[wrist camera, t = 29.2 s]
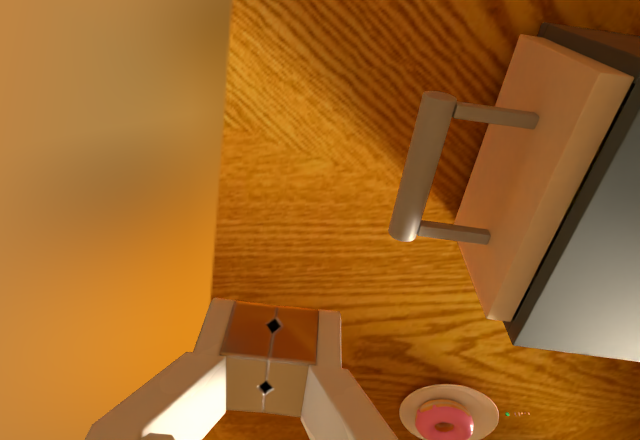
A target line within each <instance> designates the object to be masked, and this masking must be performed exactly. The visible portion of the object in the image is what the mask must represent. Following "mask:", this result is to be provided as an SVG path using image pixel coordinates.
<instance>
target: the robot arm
mask: <svg viewBox="0 0 640 440" xmlns="http://www.w3.org/2000/svg"><path fill="white" fill-rule="evenodd" d="M226 410H235V411H249V412H262V413H270V414H278V415H286V416H293V417H301V419H300V420H301V422H302V424H303V426H304V428H305V430H306V432H307V434H308V437H309V439H310V440H399V439H398V438H397V437H396V435H395V434H394V432H393V431H392V430H391V428H390V427H389V426H388V424H387V423H386V421H385V420H384V419H383V417H382V416H381V414H380V413H379V412H378V410H377V409H376V407H375V406H374V405H373V403H372V402H371V400H370V399H369V398H368V396H367V395H366V393H365V392H364V391H363V389H362V388H361V387H360V385H359V384H358V382H357V381H356V380H355V378H354V377H353V375H352V374H351V373H350V371H349V370H348V369H343V368H342V356H341V314H340V312H339V311H330V310H320V309H319V311H318V309H310V308H300V307H290V306H280V305H270V304H262V303H255V302H248V301H240V300H229V299H222V298H215V297H214V298H213V300H212V301H211V303H210V306H209V309H208V311H207V314H206V317H205V320H204V323H203V325H202V328H201V332H200V334H199V337H198V340H197V342H196V346H195V348H194V351H193V352H186V353H184V354H183V355H182V356H181V357H179V358H178V359H177V360H175V361H174V362H173V363H171V364H170V365H169V366H167V367H166V368H165V369H164V370H162V371H161V372H160V373H158V374H157V375H156V376H155V377H153V378H152V379H151V380H149V381H148V382H147V383H146V384H144V385H143V386H142V387H140V388H139V389H138V390H136V391H135V392H134V393H133V394H132V395H130V396H129V397H127V398H126V399H125V400H124V401H122V402H121V403H120V404H118V405H117V406H116V407H114V408H113V409H112V410H111V411H109V412H108V413H107V414H106V415H104V416H103V417H102V418H100V419H99V420H98V421H96V422H95V423H94V424H93V425H92V426H91V429H90V430H89V432H88V434H87V436H86V438H85V440H202V439H203V438H204V437H205V435H206V434H207V433H208V432H209V431H210V430H211V429H212V427H213V426H214V425H215V424H216V423H217V422H218V421H219V419H220V418H221V417H222V416H223V415H224V414H225V413H226Z"/></svg>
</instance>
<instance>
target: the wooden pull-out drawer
mask: <svg viewBox="0 0 640 440" xmlns="http://www.w3.org/2000/svg"><path fill="white" fill-rule="evenodd" d="M633 80H634V77H633V76H630V75H628V74H626V73H623V72H621V71H619V70H617V69H614V68H612V67H610V66H607V65H605V64H603V63H600V62H598V61H596V60H594V59H591V58H589V57H587V56H584V55H582V54H580V53H578V52H575V51H573V50H571V49H568V48H566V47H564V46H561V45H559V44H557V43H555V42H552V41H550V40H548V39H545V38H543V37H536V36H529V35H522V34H521V35H520V36H519V39H518V42H517V45H516V47H515V50H514V53H513V56H512V59H511V62H510V65H509V67H508V70H507V73H506V76H505V79H504V82H503V85H502V87H501V90H500V93H499V96H498V99H497V102H496V105H495V107H494V106H487V105H480V104H473V103H466V102H459V101H457V99H456V97H454V96H452V95H450V94H448V93H444V92H440V91H425V92H424V93H423V96H422V100H421V104H420V107H419V111H418V115H417V119H416V123H415V127H414V131H413V135H412V139H411V143H410V147H409V151H408V155H407V159H406V163H405V166H404V170H403V174H402V178H401V182H400V186H399V190H398V194H397V198H396V202H395V206H394V210H393V214H392V218H391V222H390V225H389V229H388V231H389V234H390V235H391V236H392V237H393V238H395V239H397V240H399V241H404V242H409V241H413V240H414V239H415V238H416V235H417V234H418V236H424V237H432V238H439V239H446V240H454V241H457V243H458V245H459V248H460V251H461V253H462V256H463V258H464V261H465V264H466V266H467V269H468V272H469V274H470V277H471V280H472V282H473V285H474V288H475V290H476V293H477V295H478V298H479V301H480V303H481V306H482V309H483V311H484V314H485V317H486V318H487V319H493V320H501V321H508V322H510V321H511V320H512V318H513V316H514V314H515V312H516V310H517V308H518V306H519V304H520V302H521V300H522V298H523V296H524V294H525V292H526V290H527V288H528V286H529V287H530V288H531V286H532V284H533V282H534V280H535V278H536V277H537V275H538V273H539V271H540V269H541V267H542V265H543V263H544V261H545V259H546V257H547V255H548V253H549V251H550V249H551V247H552V245H553V243H554V241H555V240H556V238H557V236H558V234H559V232H560V230H561V228H562V226H563V224H564V222H565V220H566V218H564V216H565V214H566V212H567V210H568V208H569V206H570V204H571V202H572V200H573V198H574V196H575V194H576V192H577V190H578V188H579V186H580V184H581V182H582V180H583V178H584V176H585V174H586V172H587V170H588V168H589V166H590V165H591V163H592V161H593V159H594V157H595V155H596V153H597V151H598V149H599V147H600V145H601V143H602V141H603V139H604V137H605V135H606V133H607V131H609V133H608V136H609V134H610V132H611V130H612V128H613V127H614V125H615V123H616V121H617V119H618V117H619V115H620V113H621V111H622V109H623V107H624V105H625V103H626V101H627V99H628V97H629V95H630V93H631V91H632V90H633V88H634V86H635V84H634V83H632V82H633ZM452 117H453V118H455V119H462V120H469V121H476V122H484V123H489V125H488V128H487V130H486V133H485V136H484V139H483V142H482V145H481V148H480V150H479V153H478V156H477V159H476V162H475V165H474V168H473V170H472V173H471V176H470V179H469V182H468V185H467V188H466V190H465V193H464V196H463V199H462V202H461V205H460V208H459V210H458V213H457V216H456V219H455V222H454V225H453V224H445V223H438V222H431V221H423V220H421V219H422V215H423V212H424V209H425V205H426V202H427V199H428V195H429V192H430V189H431V185H432V182H433V178H434V175H435V172H436V168H437V165H438V162H439V158H440V155H441V152H442V148H443V145H444V142H445V138H446V135H447V132H448V128H449V125H450V122H451V118H452Z"/></svg>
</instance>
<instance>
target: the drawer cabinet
mask: <svg viewBox="0 0 640 440" xmlns="http://www.w3.org/2000/svg"><path fill="white" fill-rule="evenodd" d="M537 37H543V38H545V39H548V40H550V41H552V42H555V43H557V44H559V45H561V46H564V47H566V48H568V49H571V50H573V51H575V52H578V53H580V54H582V55H584V56H587V57H589V58H591V59H594V60H596V61H598V62H600V63H603V64H605V65H607V66H610V67H612V68H614V69H617V70H619V71H621V72H623V73H626V74H628V75H630V76H633V77H634V80H633V82H632V83H634V84H635V86H634V88H633V90H632V91H631V93H630V95H629V97H628V99H627V101H626V103H625V105H624V107H623V109H622V111H621V113H620V115H619V117H618V119H617V121H616V123H615V125H614V127H613V128H612V130H611V132H610V134H609V136H608V138H607V140H606V142H605V144H604V146H603V148H602V150H601V152H600V154H599V156H598V158H597V160H596V162H595V164H594V165H593V167H592V169H591V171H590V173H589V175H588V177H587V179H586V181H585V183H584V185H583V187H582V189H581V191H580V193H579V195H578V197H577V199H576V201H575V203H574V204H573V206H572V208H571V210H570V212H569V214H568V216H567V218H566V220H565V222H564V224H563V226H562V228H561V230H560V232H559V234H558V236H557V238H556V240H555V241H554V243H553V245H552V247H551V249H550V251H549V253H548V255H547V257H546V259H545V261H544V263H543V265H542V267H541V269H540V271H539V273H538V275H537V277H536V278H535V280H534V282H533V284H532V286H531V288H530V287H529V286H528V288H527V290H526V292H525V294H524V296H523V298H522V300H521V302H520V304H519V306H518V308H517V310H516V312H515V314H514V316H513V318H512V320H511V321H510V322H508V321H503V323H504V325H505V328H506V330H507V332H508V335H509V337H510V340H511V342H512V344H513V345H514V346H522V347H530V348H537V349H545V350H553V351H560V352H568V353H575V354H583V355H591V356H598V357H606V358H614V359H621V360H629V361H636V362H640V36H635V35H628V34H622V33H615V32H608V31H601V30H594V29H588V28H581V27H574V26H567V25H560V24H554V23H547V22H543V23H542V25H541V27H540V30H539V33H538V35H537Z"/></svg>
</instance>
